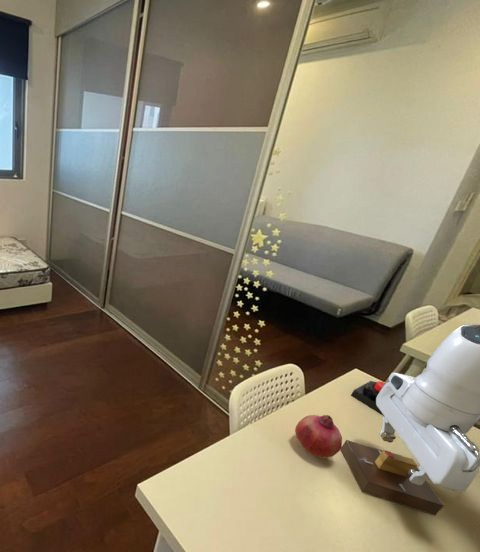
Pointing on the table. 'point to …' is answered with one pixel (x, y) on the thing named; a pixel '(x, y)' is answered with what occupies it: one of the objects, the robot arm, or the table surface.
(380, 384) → the bell button
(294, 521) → the table surface
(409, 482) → the plate
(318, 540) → the table surface
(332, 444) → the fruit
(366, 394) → the bell block
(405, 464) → the block
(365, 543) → the table surface
